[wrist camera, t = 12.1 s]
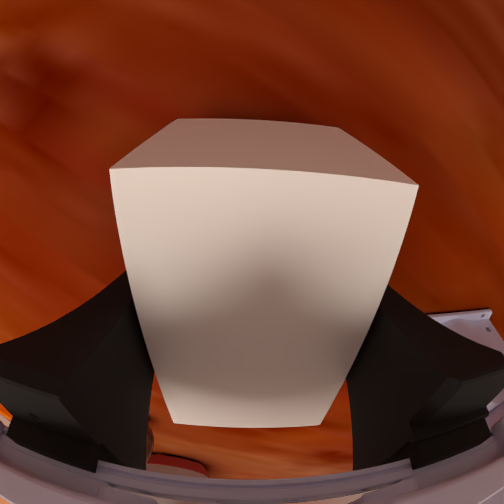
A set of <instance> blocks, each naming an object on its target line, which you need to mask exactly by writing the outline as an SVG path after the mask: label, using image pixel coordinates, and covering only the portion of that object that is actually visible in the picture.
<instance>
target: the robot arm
mask: <svg viewBox="0 0 504 504" xmlns="http://www.w3.org/2000/svg"><path fill="white" fill-rule="evenodd" d="M491 315H492V311H491V309H485V310H476V311H466V312H456V313H445V314H433V315H426V314H425V313H423V312H422V311H421V310H419V309H418V308H416V307H415V306H413V305H412V304H411V303H409V302H408V301H407V300H406V299H404V298H403V297H402V296H401V295H399V294H398V293H397V292H396V291H395V290H393V289H392V288H391V287H390V286H389V285H387V287H386V289H385V292H384V294H383V297H382V299H381V302H380V304H379V307H378V309H377V311H376V314H375V316H374V319H373V321H372V323H371V326H370V328H369V330H368V332H367V335H366V337H365V339H364V341H363V343H362V345H361V348H360V350H359V352H358V354H357V356H356V358H355V360H354V362H353V364H352V366H351V368H350V370H349V372H348V374H347V376H346V380H347V387H348V394H349V401H350V410H351V420H352V436H353V471H349V472H343V473H337V474H330V475H322V476H313V477H302V478H289V479H268V480H232V479H211V478H198V477H188V476H179V475H171V474H164V473H157V472H151V471H146V445H147V428H148V416H149V406H150V398H151V390H152V383H153V377H154V368H153V365H152V362H151V359H150V356H149V353H148V350H147V346H146V343H145V340H144V336H143V333H142V329H141V326H140V322H139V319H138V315H137V311H136V308H135V304H134V300H133V296H132V292H131V288H130V284H129V279H128V275H127V271H125V272H124V273H123V274H122V275H120V276H119V277H118V278H117V279H116V280H114V281H113V282H112V283H111V284H109V285H108V286H107V287H106V288H105V289H103V290H102V291H101V292H99V293H98V294H97V295H95V296H94V297H93V298H91V299H90V300H88V301H87V302H85V303H84V304H83V305H81V306H80V307H78V308H76V309H75V310H73V311H71V312H70V313H68V314H66V315H64V316H63V317H61V318H59V319H58V320H56V321H54V322H52V323H50V324H48V325H46V326H44V327H42V328H40V329H38V330H36V331H33V332H31V333H29V334H27V335H24V336H21V337H19V338H16V339H13V340H11V341H8V342H5V343H2V344H0V403H1V404H2V405H3V406H4V407H5V408H6V409H7V410H8V411H9V412H10V413H11V414H12V415H13V417H12V420H11V423H10V425H9V427H7V426H5V425H4V424H3V423H2V422H1V421H0V497H2V498H3V499H5V500H6V501H8V502H10V503H11V504H158V503H157V501H156V500H155V499H153V498H149V497H145V496H141V495H137V494H134V493H138V494H143V495H148V496H153V497H159V498H166V499H173V500H180V501H189V502H199V503H212V504H284V503H297V502H307V501H316V500H324V499H331V498H336V497H343V496H348V495H354V494H359V493H363V492H368V491H372V490H375V491H372V492H369V493H365V494H363V495H362V497H361V498H359V499H357V500H355V501H353V502H351V503H348V504H504V342H503V340H502V338H501V337H500V335H499V334H498V332H497V330H496V329H495V327H494V326H493V324H492V323H491V321H490V320H489V318H490V316H491ZM377 489H378V490H377ZM127 491H128V492H127ZM131 492H133V493H131Z"/></svg>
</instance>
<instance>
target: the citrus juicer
mask: <svg viewBox="0 0 504 504" xmlns="http://www.w3.org/2000/svg"><path fill="white" fill-rule="evenodd" d="M146 471H151V472H157V473H164V474H171V475H179V476H188V477H198V478H209V477H208V474H207V471H206V469H205V467H204V466H203V465H202V464H200V463H198V462H193V461H190V460H187V459H182V458H178V457H172V456H167V455H165V454H160V453H158V454H156V455H151V456H150V458H149V460H148V461H147V463H146ZM127 492H128V491H127ZM131 493H133V492H131ZM134 494H137V495H141V496H145V497H149V498H153V499H155V500H156V501H157V503H158V504H212V503H199V502H189V501H180V500H173V499H166V498H159V497H153V496H148V495H143V494H138V493H134Z"/></svg>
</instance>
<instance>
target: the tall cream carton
mask: <svg viewBox="0 0 504 504" xmlns="http://www.w3.org/2000/svg"><path fill="white" fill-rule="evenodd" d="M109 171H110V180H111V187H112V194H113V201H114V208H115V214H116V220H117V226H118V231H119V237H120V242H121V247H122V252H123V257H124V262H125V266H126V271H127V275H128V279H129V284H130V288H131V292H132V296H133V300H134V304H135V308H136V311H137V315H138V319H139V322H140V326H141V329H142V333H143V336H144V340H145V343H146V346H147V350H148V353H149V356H150V359H151V362H152V365H153V368H154V371H155V374H156V377H157V380H158V383H159V386H160V388H161V391H162V394H163V397H164V399H165V402H166V405H167V407H168V410H169V413H170V415H171V418H172V420H173V423H178V424H188V425H200V426H215V427H243V428H270V427H297V426H313V425H320V423H321V422H322V420H323V418H324V417H325V415H326V413H327V411H328V410H329V408H330V406H331V404H332V402H333V401H334V399H335V397H336V395H337V393H338V391H339V390H340V388H341V386H342V384H343V382H344V380H345V378H346V376H347V374H348V372H349V370H350V368H351V366H352V364H353V362H354V360H355V358H356V356H357V354H358V352H359V350H360V348H361V345H362V343H363V341H364V339H365V337H366V335H367V332H368V330H369V328H370V326H371V323H372V321H373V319H374V316H375V314H376V311H377V309H378V307H379V304H380V302H381V299H382V297H383V294H384V292H385V289H386V287H387V284H388V281H389V279H390V276H391V273H392V271H393V268H394V265H395V262H396V259H397V256H398V253H399V251H400V248H401V245H402V241H403V238H404V235H405V232H406V229H407V226H408V222H409V219H410V216H411V212H412V209H413V205H414V202H415V198H416V194H417V190H418V187H419V185H418V184H416V183H415V182H414V181H413V180H411V179H410V178H409V177H408V176H406V175H405V174H404V173H402V172H401V171H400V170H399V169H397V168H396V167H395V166H393V165H392V164H391V163H389V162H388V161H387V160H385V159H384V158H382V157H381V156H380V155H378V154H377V153H375V152H374V151H373V150H371V149H370V148H368V147H367V146H365V145H364V144H362V143H361V142H360V141H358V140H357V139H355V138H354V137H352V136H351V135H349V134H347V133H346V132H344V131H343V130H341V129H340V128H338V127H330V126H322V125H313V124H304V123H294V122H282V121H268V120H249V119H176V120H175V121H173V122H172V123H170V124H169V125H167V126H166V127H164V128H163V129H162V130H160V131H159V132H157V133H156V134H154V135H153V136H152V137H150V138H149V139H148V140H146V141H145V142H143V143H142V144H141V145H139V146H138V147H137V148H135V149H134V150H133V151H131V152H130V153H129V154H127V155H126V156H125V157H124V158H122V159H121V160H120V161H119V162H117V163H116V164H115V165H114V166H112V167H111V168H110V169H109Z"/></svg>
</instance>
